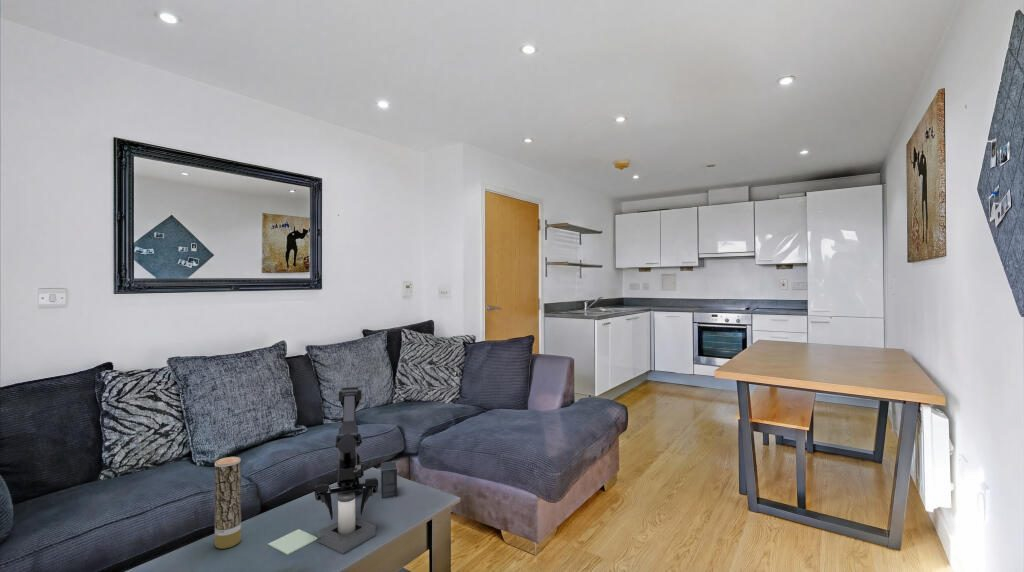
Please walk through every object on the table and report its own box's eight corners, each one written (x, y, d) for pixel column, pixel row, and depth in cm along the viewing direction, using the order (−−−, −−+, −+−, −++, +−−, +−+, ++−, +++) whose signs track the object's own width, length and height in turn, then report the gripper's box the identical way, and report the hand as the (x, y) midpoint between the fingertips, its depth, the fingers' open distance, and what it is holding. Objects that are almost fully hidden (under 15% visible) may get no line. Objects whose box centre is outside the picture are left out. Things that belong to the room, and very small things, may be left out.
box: (380, 490, 178) (380, 462, 178) (396, 488, 180) (395, 460, 180) (381, 499, 171) (381, 469, 171) (397, 496, 173) (397, 468, 173)
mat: (268, 545, 141) (268, 543, 141) (298, 530, 149) (298, 529, 149) (287, 555, 135) (287, 553, 135) (318, 539, 144) (318, 538, 144)
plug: (334, 540, 143) (334, 496, 143) (348, 532, 148) (348, 490, 148) (345, 544, 141) (345, 500, 141) (358, 537, 145) (358, 493, 145)
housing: (317, 541, 142) (317, 532, 142) (350, 524, 152) (350, 515, 152) (343, 554, 136) (343, 543, 136) (375, 535, 146) (375, 525, 146)
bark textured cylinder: (228, 551, 138) (228, 465, 138) (209, 548, 139) (208, 464, 139) (246, 538, 144) (246, 457, 144) (227, 536, 146) (227, 455, 146)
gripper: (315, 459, 145) (311, 511, 135) (377, 452, 151) (378, 502, 140) (317, 475, 153) (314, 525, 142) (377, 468, 158) (378, 516, 148)
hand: (346, 517), depth 143 cm, fingers open, 8 cm apart
